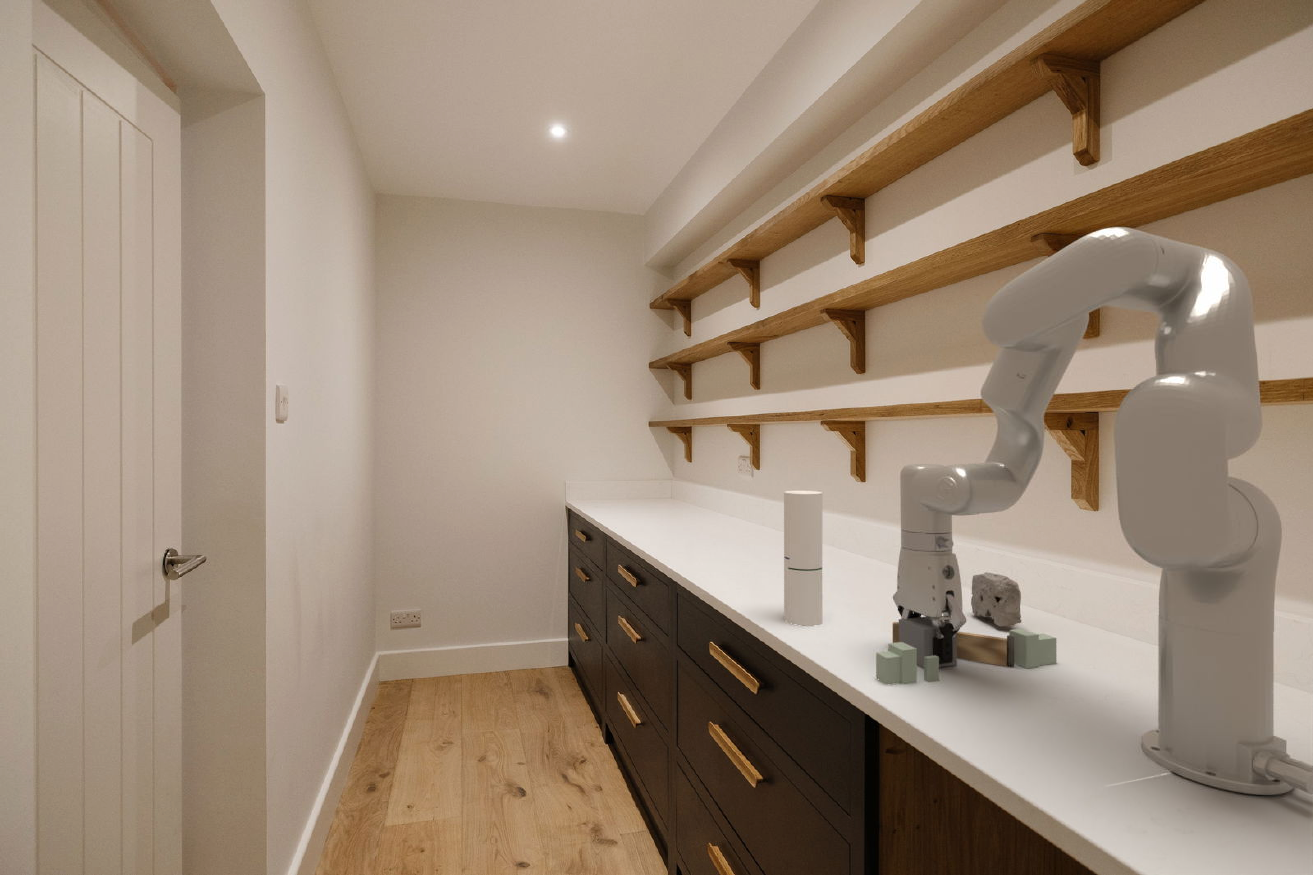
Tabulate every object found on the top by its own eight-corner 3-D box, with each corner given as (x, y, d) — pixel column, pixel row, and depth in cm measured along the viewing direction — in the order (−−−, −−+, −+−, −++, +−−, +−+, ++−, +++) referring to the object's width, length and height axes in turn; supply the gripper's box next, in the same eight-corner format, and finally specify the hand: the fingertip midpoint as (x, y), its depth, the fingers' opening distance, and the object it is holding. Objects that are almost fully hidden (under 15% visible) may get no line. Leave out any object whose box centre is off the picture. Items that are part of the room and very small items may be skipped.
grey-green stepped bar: (1059, 664, 101) (1059, 632, 100) (889, 687, 91) (889, 652, 91) (1041, 657, 104) (1041, 626, 104) (874, 679, 95) (874, 645, 95)
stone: (1027, 628, 115) (1024, 571, 117) (993, 625, 116) (991, 568, 118) (998, 627, 127) (995, 576, 130) (967, 624, 128) (965, 573, 131)
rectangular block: (956, 664, 100) (956, 625, 100) (924, 668, 98) (924, 629, 98) (929, 652, 106) (929, 616, 106) (899, 656, 104) (898, 619, 104)
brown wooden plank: (1015, 662, 101) (1015, 633, 101) (1014, 667, 99) (1014, 637, 99) (896, 642, 111) (896, 616, 111) (892, 647, 109) (892, 619, 109)
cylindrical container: (809, 616, 128) (809, 490, 128) (829, 626, 121) (829, 493, 121) (777, 619, 125) (777, 491, 125) (796, 630, 119) (796, 494, 119)
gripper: (987, 549, 95) (989, 671, 95) (909, 533, 112) (910, 638, 111) (946, 552, 93) (947, 677, 93) (872, 536, 109) (873, 642, 109)
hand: (927, 654), depth 102 cm, fingers closed on rectangular block, 6 cm apart
